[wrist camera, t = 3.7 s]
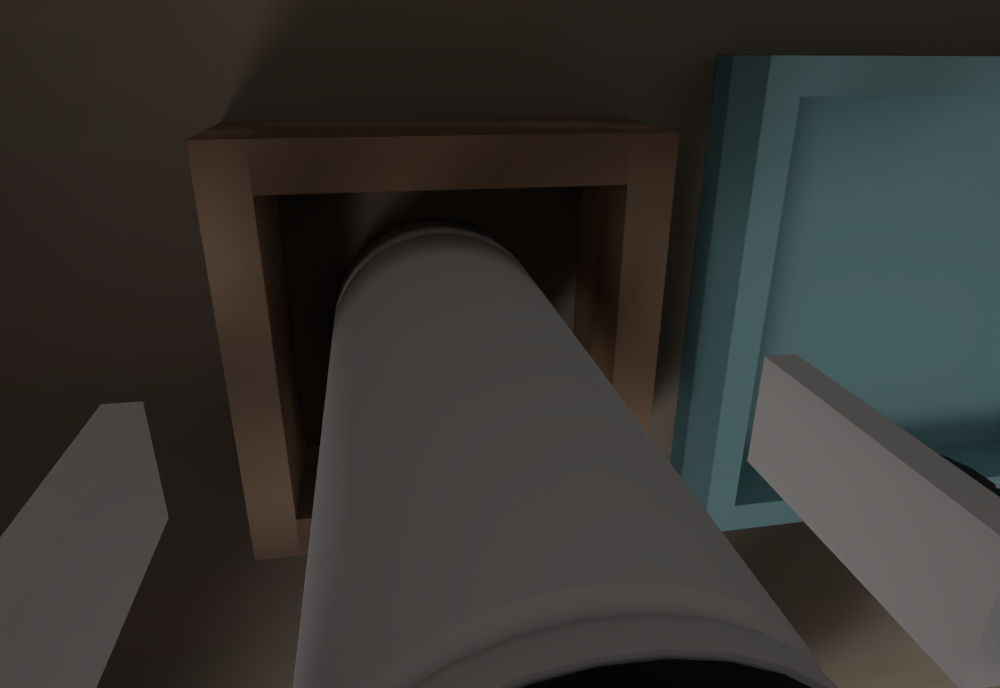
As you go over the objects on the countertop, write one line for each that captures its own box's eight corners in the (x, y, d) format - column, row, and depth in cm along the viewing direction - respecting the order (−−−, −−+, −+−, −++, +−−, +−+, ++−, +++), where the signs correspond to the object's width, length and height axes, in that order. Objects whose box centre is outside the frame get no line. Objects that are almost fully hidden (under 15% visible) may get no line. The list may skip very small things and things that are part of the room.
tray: (1009, 448, 29) (1076, 489, 26) (668, 483, 26) (703, 533, 24) (1139, 56, 23) (1243, 57, 20) (717, 55, 20) (771, 55, 18)
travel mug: (564, 241, 22) (1544, 1158, 4) (495, 420, 24) (909, 1579, 6) (369, 178, 20) (424, 1356, 2) (313, 378, 22) (79, 1868, 4)
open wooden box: (601, 450, 25) (641, 517, 22) (272, 481, 23) (255, 561, 20) (624, 118, 21) (679, 132, 17) (219, 123, 19) (185, 139, 15)
